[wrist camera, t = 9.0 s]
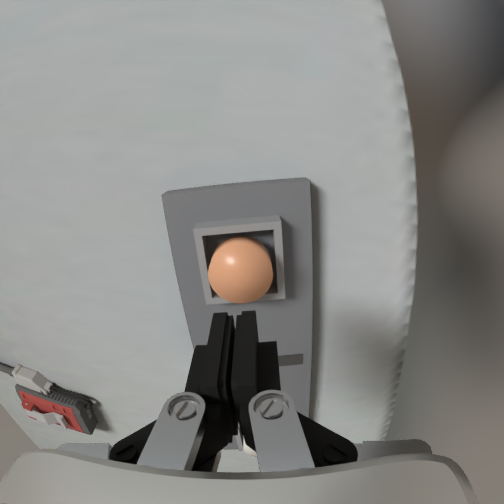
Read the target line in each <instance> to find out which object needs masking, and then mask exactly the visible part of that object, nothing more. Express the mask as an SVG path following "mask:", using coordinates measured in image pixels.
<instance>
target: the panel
mask: <svg viewBox="0 0 504 504" xmlns="http://www.w3.org/2000/svg"><path fill="white" fill-rule="evenodd" d="M162 201H163V207H164V213H165V219H166V224H167V230H168V236H169V241H170V246H171V251H172V256H173V261H174V266H175V271H176V276H177V281H178V285H179V290H180V294H181V299H182V303H183V308H184V312H185V316H186V320H187V324H188V329H189V333H190V337H191V341H192V344H193V348H194V349H195V346H196V345H207V342H208V337H209V332H210V327H211V322H212V317H213V313H220V312H227V313H228V316H230V315H233V318H234V325H235V328H236V317H237V315H241V314H242V311H252V310H255V311H256V319H257V328H258V338H259V342H269V341H277V351H278V362H279V374H280V385H281V391H282V392H285V393H287V394H288V395H289V396H290V397H291V398H292V400H293V402H294V405H295V408H296V411H297V412H299V413H301V414H303V415H304V416H306V417H308V418H309V403H310V384H311V359H312V316H313V263H312V220H311V194H310V181H309V180H308V179H307V178H292V179H278V180H265V181H253V182H242V183H232V184H222V185H213V186H204V187H196V188H188V189H180V190H172V191H167V192H165V193H164V194H163V195H162ZM233 236H249V237H252V238H255V239H257V240H258V241H260V242H261V243H262V244H263V245H264V246H265V247H266V248H267V250H268V252H269V254H270V257H271V263H272V270H273V279H272V283H271V286H270V288H269V289H268V291H267V292H266V293H265V294H264V295H263V296H262V297H261V298H259V299H257V300H255V301H253V302H249V303H233V302H229V301H227V300H225V299H223V298H221V297H220V296H219V295H218V294H217V293H216V292H215V291H214V290H213V289H212V287H211V285H210V282H209V278H208V270H209V265H210V262H211V259H212V256H213V253H214V251H215V249H216V248H217V246H218V245H219V244H220V243H221V242H222V241H224V240H226V239H227V238H230V237H233ZM223 449H224V450H225V449H239V451H242V450H243V435H242V434H241V430H240V426H239V422H238V435H234V436H233V440H232V443H228V445H227V446H226V447H224V448H223Z"/></svg>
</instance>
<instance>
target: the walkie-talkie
mask: <svg viewBox="0 0 504 504" xmlns="http://www.w3.org/2000/svg"><path fill="white" fill-rule="evenodd" d="M0 371H3V372H5V373H8V374H10V376H12V377H14V378H15V380H16V382H17V385H16V386H15V388H16V392H17V394H18V396H19V397H20V399H21V401H22V406H23V408H24V410H25V411H26V413H27V414H28V416H29V417H30V418H33V419H35V420H38V421H40V422H43V423H45V424H48V425H49V424H58V425H61V426H62V427H63V428H65V429H67V428H69V429H73V430H76V431H79V432H82V433H85V434H89V435H92V434H93V431H94V429H95V427H96V424H97V422H98V421H97V419H96V417H95V415H94V413H93V411H92V408H91V406H92V401H91V400H89V399H88V398H86V397H85V396H84V395H82V394H80V393H76V392H72V391H69V390H65V389H62V388H59V387H55V386H53V384H52V382H51V381H49V380H48V379H47V378H46V377H44V376H43V375H42V374H40V373H39V372H37V371H34V370H31V369H28V368H25V367H23V366H21V365H19V364H17V366H16V367H15V368H13V367H8V366H6V365H3V364H0Z"/></svg>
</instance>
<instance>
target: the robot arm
mask: <svg viewBox="0 0 504 504" xmlns="http://www.w3.org/2000/svg"><path fill="white" fill-rule="evenodd" d="M238 422H239V426H240V430H241V434H242V435H244V439H245V444H246V445H247V446H248V447H250V448H251V449H252V450H254V451H255V452H256V453H257V459H258V464H259V469H260V472H245V473H226V472H217V468H218V465H219V461H220V458H221V450H222V449H223V448H224V447H226V446H227V445H228V443H232V440H233V436H234V435H238ZM0 504H479V502H478V499H477V496H476V494H475V492H474V490H473V487H472V485H471V483H470V481H469V479H468V478H467V476H466V474H465V473H464V471H463V470H462V469H461V467H460V466H459V465H458V464H457V463H456V462H454V461H453V460H452V459H450V458H447V457H444V456H440V455H434V454H432V450H431V447H430V446H429V445H428V444H427V443H426V442H425V441H422V440H419V439H409V440H393V441H363V443H362V444H353V443H352V442H350V441H349V440H348V439H346V438H344V437H342V436H340V435H338V434H336V433H334V432H333V431H331V430H329V429H327V428H325V427H323V426H322V425H320V424H318V423H316V422H315V421H313V420H311V419H309V418H308V417H306V416H304V415H303V414H301V413H299V412H297V411H296V408H295V405H294V402H293V400H292V398H291V397H290V396H289V395H288V394H287V393H285V392H282V391H281V385H280V374H279V362H278V351H277V341H269V342H259V338H258V328H257V319H256V311H255V310H252V311H242V314H241V315H237V317H236V328H235V325H234V318H233V315H230V316H228V313H227V312H220V313H213V317H212V322H211V327H210V332H209V337H208V342H207V345H196V346H195V349H194V353H193V358H192V362H191V366H190V370H189V374H188V379H187V383H186V387H185V392H182V393H177V394H175V395H173V396H171V397H170V398H169V399H168V400H167V401H166V402H165V404H164V406H163V408H162V410H161V412H160V414H159V417H158V419H157V420H155V421H154V422H152V423H150V424H149V425H147V426H145V427H143V428H142V429H140V430H138V431H136V432H135V433H133V434H131V435H129V436H128V437H126V438H124V439H122V440H120V441H119V442H117V443H116V444H115V445H113V446H111V445H110V444H109V443H66V444H62V445H60V446H59V447H58V448H57V449H37V450H30V451H26V452H23V453H21V454H20V455H18V456H17V457H16V458H15V459H14V461H13V462H12V463H11V465H10V466H9V468H8V470H7V472H6V473H5V475H4V477H3V479H2V481H1V483H0Z"/></svg>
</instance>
